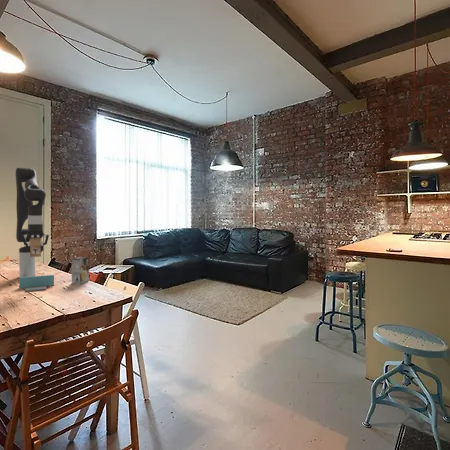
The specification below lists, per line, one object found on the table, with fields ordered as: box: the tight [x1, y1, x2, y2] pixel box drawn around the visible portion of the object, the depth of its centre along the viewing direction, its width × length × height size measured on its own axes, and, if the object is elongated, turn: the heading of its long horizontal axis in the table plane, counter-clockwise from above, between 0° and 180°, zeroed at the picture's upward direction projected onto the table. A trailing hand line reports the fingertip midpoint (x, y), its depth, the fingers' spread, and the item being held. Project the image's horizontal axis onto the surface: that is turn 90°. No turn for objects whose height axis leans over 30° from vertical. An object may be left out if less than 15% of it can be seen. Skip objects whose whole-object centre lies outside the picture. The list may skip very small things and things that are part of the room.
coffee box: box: [71, 256, 90, 285], centre depth 197 cm, size 9×6×16 cm
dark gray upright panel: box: [24, 286, 47, 293], centre depth 178 cm, size 7×10×1 cm
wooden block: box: [30, 238, 42, 258], centre depth 176 cm, size 5×5×11 cm
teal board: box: [18, 274, 55, 289], centre depth 184 cm, size 1×18×6 cm, turn 118°
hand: (35, 252), depth 177 cm, fingers closed on wooden block, 5 cm apart
